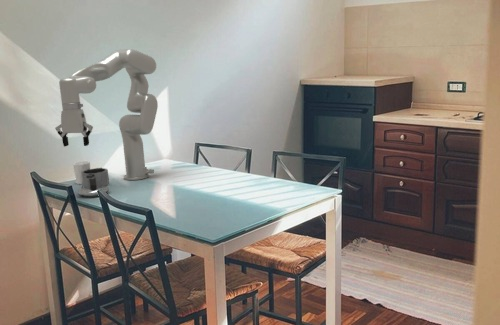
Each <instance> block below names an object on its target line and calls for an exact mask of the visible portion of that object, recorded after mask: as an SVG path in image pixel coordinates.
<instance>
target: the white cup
mask: <svg viewBox="0 0 500 325" xmlns="http://www.w3.org/2000/svg"><path fill="white" fill-rule="evenodd" d="M90 162H91V161H89V160H87V161H85V160H82V161H75V162H74V163H72V165H73V170H74V171H73V172H74V176H75V181H76V184H77V185H82V178H81V172H82V171H85V170H88V169H91V163H90Z"/></svg>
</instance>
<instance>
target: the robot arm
mask: <svg viewBox="0 0 500 325" xmlns="http://www.w3.org/2000/svg"><path fill="white" fill-rule="evenodd" d="M122 69H125V71H126V72H127V73H128V76H129V78H130V81H131V82H130V83H131V84H130V89H129V93H128V98H127V103H126V108H127V110H128V112H130V113H135V114H125V115H123V116H122V117H121V118H120V119H119V122H118V127H119V130H120V134H121V138H122V143H123V153H124V154H123V155H124V165H125V174H124V175H123V177H122V178H123V179H124V181H139V180H145V179H147V178H149V177H150V174H155V169H152V168H151V169H148V167H147V166H146V164H145V163H146V162H145V151H144V142H143V138H142V137H141V136H142V135H149V134H151V132H152V130H153V127H154V124H155V120H156V118H157V112H158V107H159V106H158V103H159V102H158V99H157V98H156V96H155V95H154V94H151V93H148V91H149V82H148V79H147V77H146V75H152V74H153V73H155V72H156V70H157V63H156V61H155V58H153V57H152V56H151V55H148V54H145V53H143V52H141V51H138V50H135V49H133V48H132V49H131V48H129V49H128V48H127V49H116V50H115V51H112V52H111V53H110V54H108V55H107V56H105V57H104V58H102V59H101V60H100V61H98V62H95V63H94V64H91V65H89V66H86V67H84V68H81V69H79V70H77V71H76V72H74V73H72V75H70V76H69V77H67V78H60V79H59V82H58V83H59V92H60V98H61V100H60V101H61V106H62V107H61V108H62V110H61V113H60V123H61V124H59V125H57V126H56V127H55V130H56V132H57V134H58V135H59V136H60V138H61V140H62V145H63V147H64V148H65V147H68V146H69V137H68V134H81V135H82V136H83V137H82V140H83V141H82V142H83V146H84V147H87V146H89V145H90V139H89V137H90V135H91V133H92V132H93V129H94V126H93V125H91V124H89V123H87V119H86V114H85V112H84V109H83V107H84V105H83V103H81V99H80V95H81V94H84V95H85V94H91V93H94V91H95V90H96V89H97V82H100V81H105V80H108V79H111V77H113V76H114V75H116V74H117V73H118V72H120V71H121V70H122Z"/></svg>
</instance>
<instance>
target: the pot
mask: <svg viewBox="0 0 500 325" xmlns="http://www.w3.org/2000/svg"><path fill="white" fill-rule="evenodd" d="M81 178H82V184H81V185H82V188H85V187H90V182H89V178H96V186H107V187H109V185H110V176H109V170H108V168H105V167H95V168H90V169H88V170H85V171H82V172H81Z"/></svg>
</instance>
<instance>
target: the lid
mask: <svg viewBox="0 0 500 325" xmlns="http://www.w3.org/2000/svg"><path fill="white" fill-rule="evenodd" d="M89 182H90V187H85V188H83V187H82V188H81V189H79V190H78V194H79V195H80V196H84V197H86V198H95V197H99V196H98V193H97V191H98V190H99V189H103V190H104V191H105V193H107V192H109V191H110V189H109V186H96V178H89Z"/></svg>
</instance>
